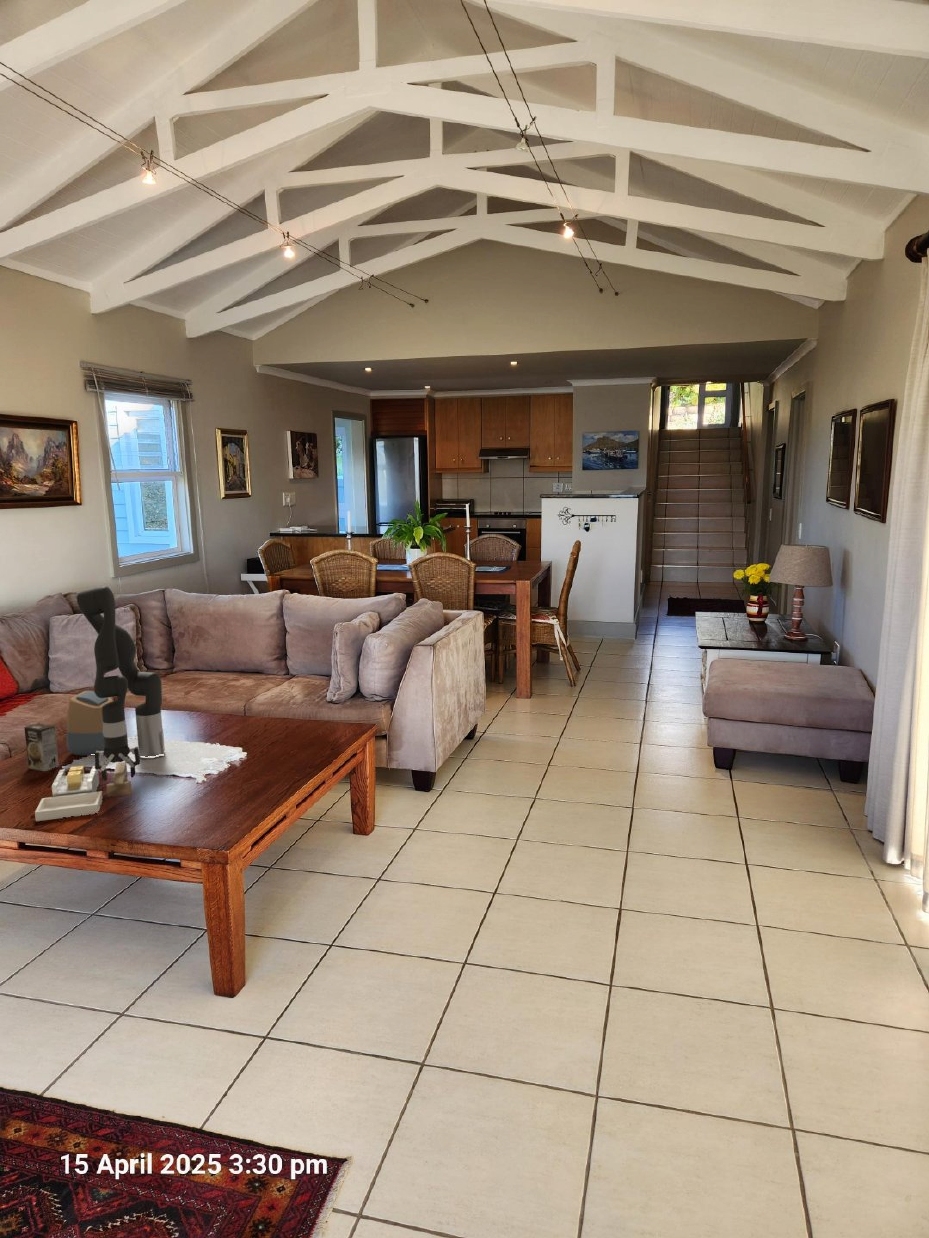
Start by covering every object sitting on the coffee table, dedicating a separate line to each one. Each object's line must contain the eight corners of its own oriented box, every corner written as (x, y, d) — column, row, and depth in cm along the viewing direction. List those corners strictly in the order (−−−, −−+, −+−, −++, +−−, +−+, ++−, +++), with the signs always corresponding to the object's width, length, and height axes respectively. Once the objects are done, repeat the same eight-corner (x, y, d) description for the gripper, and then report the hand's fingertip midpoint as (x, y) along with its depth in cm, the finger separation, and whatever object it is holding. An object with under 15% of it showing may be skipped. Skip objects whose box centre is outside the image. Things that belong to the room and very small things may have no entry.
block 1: (84, 776, 277) (83, 765, 277) (83, 780, 274) (81, 769, 273) (72, 778, 276) (70, 767, 275) (70, 782, 272) (69, 770, 272)
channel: (99, 782, 282) (97, 765, 281) (93, 799, 267) (91, 781, 266) (61, 787, 278) (60, 769, 277) (53, 804, 263) (51, 785, 262)
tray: (102, 799, 267) (101, 791, 266) (98, 813, 256) (97, 804, 255) (43, 806, 262) (42, 798, 261) (35, 821, 250) (34, 812, 250)
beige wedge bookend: (107, 797, 269) (105, 777, 268) (111, 782, 282) (110, 763, 281) (131, 794, 271) (129, 774, 270) (134, 779, 285) (133, 761, 283)
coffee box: (27, 768, 298) (23, 727, 295) (43, 762, 304) (38, 722, 301) (44, 771, 294) (39, 729, 291) (59, 766, 300) (55, 724, 297)
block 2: (82, 781, 273) (81, 770, 272) (80, 785, 269) (79, 774, 268) (69, 783, 271) (68, 771, 271) (67, 787, 268) (66, 775, 267)
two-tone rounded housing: (106, 757, 309) (101, 699, 305) (64, 757, 310) (58, 699, 306) (125, 743, 326) (120, 688, 322) (85, 743, 326) (79, 688, 322)
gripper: (138, 728, 278) (142, 772, 281) (94, 732, 274) (98, 777, 277) (136, 734, 271) (140, 779, 274) (90, 738, 267) (95, 784, 269)
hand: (119, 778), depth 275 cm, fingers open, 8 cm apart
